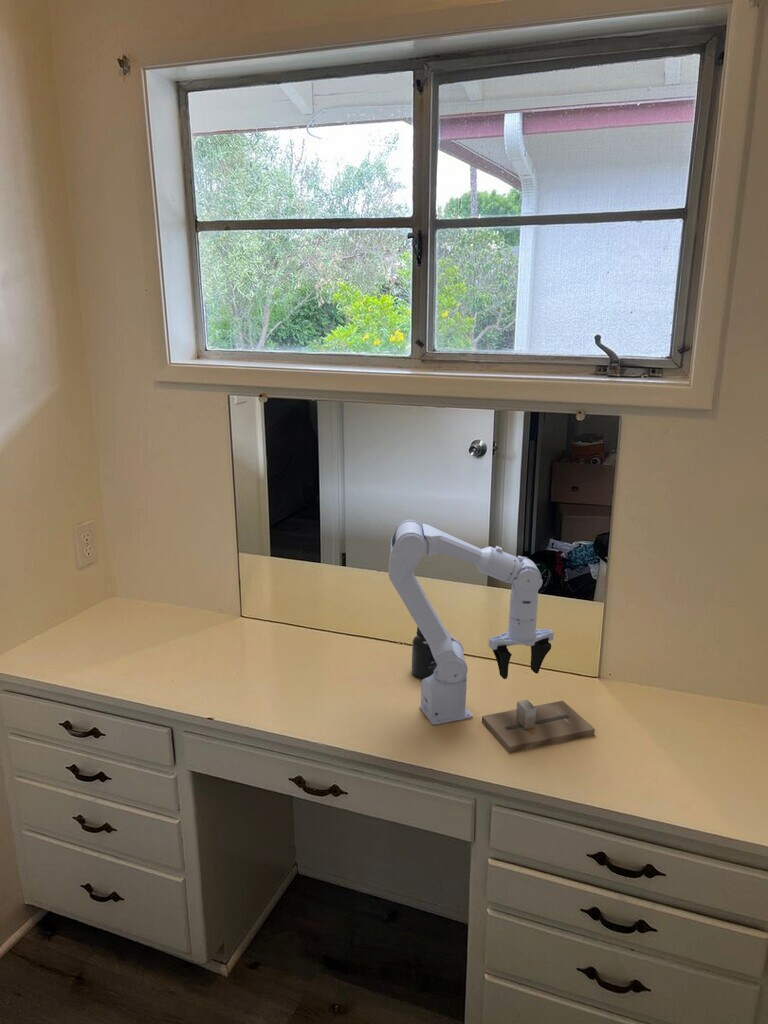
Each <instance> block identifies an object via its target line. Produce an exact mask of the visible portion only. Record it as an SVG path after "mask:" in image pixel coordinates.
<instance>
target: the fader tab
mask: <svg viewBox="0 0 768 1024" xmlns="http://www.w3.org/2000/svg"><path fill="white" fill-rule="evenodd" d="M534 706H535V705H533V704H532V703H531V702H530V701H529V700H528V699H524V700H520V701H519V700H518V701H516V709H517V712H516V721H517V722H518V723H519V724H520V725H521V726H522V727H523V728H524V729H528V728H533V727H535V717H536V708H535V707H534Z"/></svg>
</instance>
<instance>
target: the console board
mask: <svg viewBox="0 0 768 1024" xmlns="http://www.w3.org/2000/svg"><path fill="white" fill-rule="evenodd" d="M533 706H534V707H535V708H536V717H535V727H533V728H528V729H524V728H523V727H522V726H521V725H520V724H519V723H518V722H517V721H516V712H517V708H516V709H512V710H507V711H501V712H496V713H492V714H491V713H490V714H486V715H482V716H481V723H482V725H484V727H486V729H487V730H488V732H490V734H491V735H492V736H493V737H494V738H495V739H496V740H497V741H498V742H499V744H500V745H501V746H502V747H503V748H504V749H505V750H506V751H507V753H508V754H513V753H517V752H518V753H519V752H522V750H523V751H526V750H527V749H528V750H530V749H537V748H540V747H541V746H542V747H545V745H546V746H550V745H555V744H560V743H565V742H568V741H574V740H579V739H583V738H588V737H593V736H595V731H596V729H595V727H593V726H592V725H591V724H590V723H589V722H588V721H586V719H584V718H583V717H582V716H581V715H580V714H579V713H578V712H576V710H574V709H573V708H572V707H571V706H570V705H568V703H566V702H565V701H564V700H559V701H553V702H549V703H544V704H538V705H533Z"/></svg>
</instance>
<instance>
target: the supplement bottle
mask: <svg viewBox="0 0 768 1024" xmlns="http://www.w3.org/2000/svg"><path fill="white" fill-rule="evenodd" d="M411 643H412V644H411V645H412V646H411V673H412V675H413V676H414V677H416V678H417V679H420V680H423V679H424V678H427V677H430V676H431V675H432V674H433V673H434V670H435V668H436V666H437V663H436V661H435V660H434V657H433V655H432V652H431V649H430V647H429V645H428V643H427V641H426V639H425V638H424V636H423V634H422V633H421V631H420V629H419V628H418V626H417V627H416V635H415V636H414V637H413V639H412V642H411Z"/></svg>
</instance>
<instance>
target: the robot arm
mask: <svg viewBox="0 0 768 1024" xmlns="http://www.w3.org/2000/svg"><path fill="white" fill-rule="evenodd" d="M426 553H427V558H431V557H433V556H435V555H437V554H440V553H441V554H445V555H448V556H452V557H453V558H457V559H460V560H463V561H464V562H465V561H466V562H469V563H471V564H474V565H476V567H477V571H478V572H479V573H481V574H483V575H485V576H488V577H489V576H490V577H491V578H494V579H496V580H499V581H502V582H504V583H505V584H506V583H507V584H511V590H510V599H509V611H508V612H509V615H508V629H507V630H508V631H506V632H502V633H501V634H497V635H496V636H493V637H488V647H489V648H490V649H491V650H492V652H493V655H494V656H495V659H496V663H497V665H498V666H497V667H498V672H499V676H500V677H501V678H502V679H503V680H507V679H508V676H509V666H510V661H511V657H512V654H513V653H511V651H509V648H508V647H511V646H516V645H525V646H526V647H530V670H531V671H532V672H533V673H534V674H539V672H540V669H541V666H542V664H543V662H544V660H545V657H546V656H547V654H548V653H549V652H550V651H551V649H552V644H551V643H550V642H551V641H554V631H552V630H551V629H550V628H541V629H539V628H537V617H538V606H539V605H538V603H539V590H540V588H541V587H542V585H543V581H544V580H543V578H542V574H541V572H540V570H539V568H538V567H537V565H536V563H535V562H534V561H533V560H532V559H530V558H529V557H528V556H521V555H517V556H515V555H514V554H513V555H512V554H510V553H508V552H505V551H504V550H503V548H502V547H501V546H498V545H496V546H495V547H492V546H487V547H484V548H480V547H478V546H475V545H473V544H471V543H468V542H467V541H465V540H462V539H460V538H457V537H456V536H453V535H451V534H449V533H448V532H447V533H446V532H445V531H442V530H440V529H438V528H436V527H434V526H432V525H430V524H426V523H422V524H421V523H420V522H419V521H417V520H415V519H406V520H403V521H401V522H400V523H399V524H398V525H397V526H396V528H395V530H394V531H393V534H392V536H391V540H390V552H389V560H388V561H389V562H388V578H389V580H390V582H391V583H392V585H393V587H394V588H395V590H396V592H397V594H398V595H399V597H400V599H401V601H402V602H403V603H404V606H405V607H406V609H407V611H408V612H409V614H410V616H411V618H412V619H413V621H414V622H415V624H416V626H417V627H418V628H419V629H420V631H421V633H422V634H423V636H424V638H425V639H426V641H427V643H428V645H429V647H430V649H431V652H432V655H433V657H434V660H435V661H436V663H437V666H436V668H435V670H434V673H433V674H432V675H431V676H430V677H427V678H424V679H421V684H420V686H421V687H420V704H419V708H420V710H421V712H423V714H424V715H425V717H426V718H427V719H428V720H429V722H430V724H432V725H434V726H435V725H441V724H446V723H450V722H457V721H461V720H467V719H471V718H473V716H474V715H473V714H472V713H471V711H470V710H469V709H468V708H467V707H466V701H467V681H468V680H467V678H468V665H467V662H466V659H465V653H464V651H465V650H464V647H463V645H462V643H461V642H460V641H459V640H457V639H456V638H455V637H454V636H452V634H451V633H450V631H448V630H447V628H446V627H445V626H444V623H443V622H442V620H441V619H440V616H439V615H438V613H437V612H436V610H435V608H434V606H433V605H432V602H430V600H429V598H428V595H426V593H425V591H424V589H423V588H422V585H421V584H420V582H419V581H418V579H417V577H416V576H415V574H414V571H415V569H416V566H417V565H418V563H419V562H420V561H421V560H422V559H423V558H424V556H425V554H426Z"/></svg>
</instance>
